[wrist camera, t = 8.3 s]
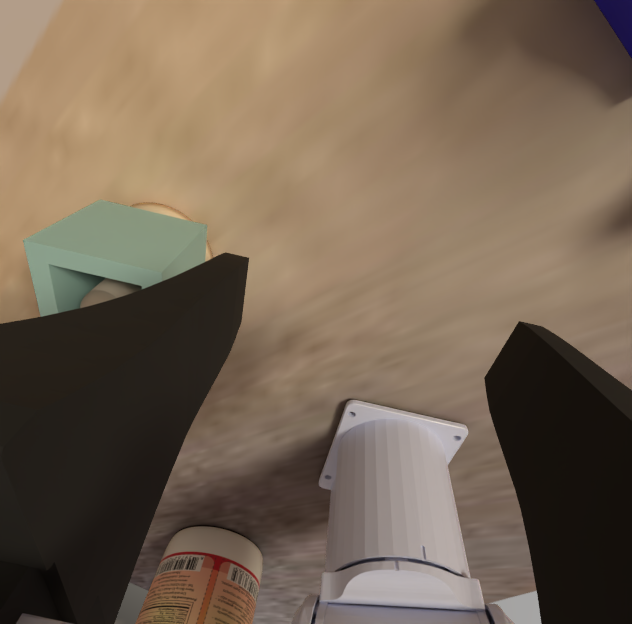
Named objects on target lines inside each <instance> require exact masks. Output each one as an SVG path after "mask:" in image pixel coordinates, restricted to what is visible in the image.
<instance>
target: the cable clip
mask: <svg viewBox="0 0 632 624" xmlns="http://www.w3.org/2000/svg"><path fill="white" fill-rule="evenodd" d="M594 1H595V2H596V4H597V5H598V7H599V9H600V10H601V12H602V13H603V15H604V16H605V18H606V19H607V21H608V22H609V24H610V26H611V27H612V29H613V30H614V32H615V33H616V35H617V36H618V38H619V39H620V41H621V43H622V44H623V46H624V47H625V49H626V50H627V52H628V53H629V55H630V57H631V58H632V0H594Z"/></svg>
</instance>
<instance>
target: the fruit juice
mask: <svg viewBox="0 0 632 624" xmlns="http://www.w3.org/2000/svg"><path fill="white" fill-rule="evenodd" d="M262 569H263V558H262V554H261V552H260V550H259V549H258V548H257V546H256V545H255V544H254V543H252V542H251V541H250V540H248V539H247V538H245V537H243V536H241V535H239V534H237V533H234V532H232V531H229V530H225V529H221V528H216V527H208V526H196V527H190V528H186V529H183V530H181V531H179V532H177V533H176V534H175V535H174V536H173V538H172V539H171V540H170V542H169V544H168V546H167V548H166V550H165V552H164V555H163V557H162V560H161V562H160V565H159V567H158V570H157V572H156V574H155V577H154V579H153V582H152V584H151V587H150V589H149V592H148V594H147V597H146V599H145V601H144V604H143V607H142V609H141V611H140V614H139V616H138V619H137V622H136V624H252V621H253V616H254V611H255V606H256V601H257V596H258V591H259V586H260V581H261V576H262Z"/></svg>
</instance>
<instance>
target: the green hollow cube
mask: <svg viewBox="0 0 632 624" xmlns="http://www.w3.org/2000/svg"><path fill="white" fill-rule="evenodd" d="M206 239H207V225H205V224H201V223H197V222H192V221H188V220H184V219H180V218H176V217H171V216H167V215H163V214H159V213H155V212H150V211H146V210H142V209H138V208H134V207H129V206H125V205H121V204H117V203H113V202H109V201H104V200H98V201H96V202H94V203H93V204H91V205H89V206H87V207H85V208H83V209H81V210H79V211H77V212H75V213H74V214H72V215H70V216H68V217H66V218H64V219H62V220H60V221H58V222H56V223H55V224H53V225H51V226H49V227H47V228H45V229H43V230H41V231H39V232H37V233H36V234H34V235H32V236H30V237H28V238H26V239H24V240H23V242H24V247H25V251H26V255H27V259H28V264H29V268H30V272H31V277H32V281H33V285H34V290H35V294H36V298H37V303H38V307H39V311H40V316H41V317H42V316H47V315H51V314H56V313H60V312H65V311H69V310H74V309H78V308H80V304H81V301H82V299H83V298H84V296H85V295H86V294H87V293H89V292H90V291H91V290H92V289H93V288H94V287H96V286H97V285H98V284H99V283H100V282H102V281H103V280H104V279H105V278H110V279H114V280H118V281H123V282H127V283H131V284H135V285H140V286H142V289H144V288H147V287H149V286H152V285H154V284H157V283H159V282H162V281H164V280H167V279H169V278H172V277H174V276H176V275H178V274H180V273H183V272H185V271H187V270H189V269H191V268H193V267H195V266H198V265H200V264H202V263H204V262H205V258H206Z"/></svg>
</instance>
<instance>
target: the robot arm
mask: <svg viewBox="0 0 632 624" xmlns="http://www.w3.org/2000/svg"><path fill="white" fill-rule="evenodd" d="M248 262H249V258H247V257H243V256H238V255H234V254H230V253H223V254H221V255H218V256H216V257H214V258H212V259H210V260H208V261H206V262H204V263H202V264H200V265H198V266H195V267H193V268H191V269H189V270H187V271H185V272H183V273H180V274H178V275H176V276H174V277H172V278H169V279H167V280H164V281H162V282H159V283H157V284H154V285H152V286H149V287H147V288H144V289H142V290H139V291H136V292H134V293H131V294H128V295H125V296H122V297H119V298H115V299H112V300H108V301H105V302H102V303H98V304H95V305H91V306H87V307H83V308H78V309H74V310H69V311H65V312H60V313H56V314H51V315H47V316H42V317H38V318H32V319H27V320H21V321H15V322H9V323H3V324H0V624H114V623H115V620H116V617H117V614H118V611H119V609H120V606H121V603H122V600H123V598H124V595H125V592H126V589H127V586H128V584H129V581H130V578H131V575H132V573H133V570H134V567H135V564H136V562H137V559H138V556H139V554H140V551H141V548H142V546H143V543H144V540H145V538H146V535H147V532H148V530H149V527H150V525H151V522H152V519H153V517H154V514H155V511H156V509H157V506H158V504H159V501H160V499H161V496H162V494H163V491H164V489H165V486H166V484H167V481H168V478H169V476H170V473H171V471H172V468H173V466H174V464H175V461H176V459H177V456H178V454H179V451H180V449H181V447H182V444H183V442H184V439H185V437H186V435H187V432H188V430H189V428H190V426H191V424H192V422H193V420H194V418H195V416H196V414H197V413H198V411H199V409H200V407H201V405H202V403H203V401H204V400H205V398H206V396H207V394H208V392H209V390H210V389H211V387H212V385H213V383H214V381H215V379H216V378H217V376H218V374H219V372H220V370H221V368H222V366H223V364H224V363H225V361H226V359H227V357H228V355H229V353H230V351H231V348H232V346H233V343H234V340H235V338H236V335H237V332H238V330H239V327H240V324H241V320H242V312H243V304H244V295H245V287H246V279H247V270H248ZM485 385H486V393H487V399H488V405H489V410H490V414H491V417H492V420H493V424H494V427H495V430H496V433H497V436H498V439H499V442H500V445H501V448H502V451H503V454H504V457H505V460H506V463H507V466H508V469H509V472H510V475H511V478H512V481H513V484H514V487H515V490H516V494H517V497H518V501H519V504H520V508H521V512H522V517H523V521H524V526H525V531H526V535H527V540H528V545H529V549H530V555H531V561H532V566H533V572H534V577H535V583H536V589H537V594H538V601H539V608H540V616H541V623H542V624H632V390H631V389H629V388H628V387H626V386H625V385H624V384H622V383H621V382H620V381H618V380H617V379H616V378H614V377H613V376H611V375H610V374H609V373H607V372H606V371H605V370H603V369H602V368H601V367H599V366H598V365H597V364H595V363H594V362H593V361H591V360H590V359H589V358H587V357H586V356H585V355H583V354H582V353H581V352H579V351H578V350H577V349H575V348H574V347H573V346H571V345H570V344H568V343H567V342H566V341H564V340H563V339H561V338H560V337H558V336H557V335H555V334H554V333H552V332H551V331H549V330H547V329H545V328H544V327H542V326H537V325H533V324H529V323H525V322H520V321H519V322H518V324H517V326H516V327H515V329H514V331H513V332H512V334H511V335H510V337H509V339H508V340H507V342H506V344H505V345H504V347H503V348H502V350H501V352H500V353H499V355H498V357H497V358H496V360H495V361H494V363H493V365H492V366H491V368H490V370H489V371H488V373H487V375H486V376H485ZM350 412H354V413H350ZM467 435H468V429H467V427H466V426H465V425H463V424H460V423H455V422H451V421H446V420H442V419H438V418H433V417H429V416H424V415H420V414H416V413H411V412H407V411H402V410H398V409H394V408H389V407H385V406H380V405H376V404H371V403H367V402H363V401H358V400H350V401H348V402H347V403H346V406H345V409H344V411H343V414H342V417H341V420H340V422H339V425H338V428H337V431H336V434H335V436H334V439H333V442H332V445H331V448H330V450H329V453H328V456H327V459H326V461H325V464H324V467H323V470H322V473H321V475H320V478H319V486H320V487H321V488H324V489H328V490H331V497H330V510H329V522H328V535H327V547H326V560H325V572H323V573H322V576H321V588H320V595H313V594H311V595H309V596H307V597H306V599H305V600H304V602H303V604H302V605H301V606H300V607H299V609H298V610H297V611H296V613H295V615H294V617H293V620H292V624H514V623H513V622H512V621H511V620H510V619H509V618H508V617H507V616H506V615H505V613H504V612H503V610H502V609H501V608H500V607H499V606H498V605H496V604H484V601H483V596H482V592H481V587H480V583H479V580H478V579H476V578H470V573H469V568H468V563H467V558H466V554H465V549H464V544H463V539H462V534H461V529H460V524H459V519H458V514H457V509H456V505H455V500H454V495H453V490H452V485H451V480H450V475H449V470H448V464H449V462H450V461H451V459H452V458H453V456H454V455H455V453H456V452H457V450H458V449H459V447H460V446H461V444H462V443H463V441H464V439H465V438H466V436H467Z"/></svg>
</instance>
